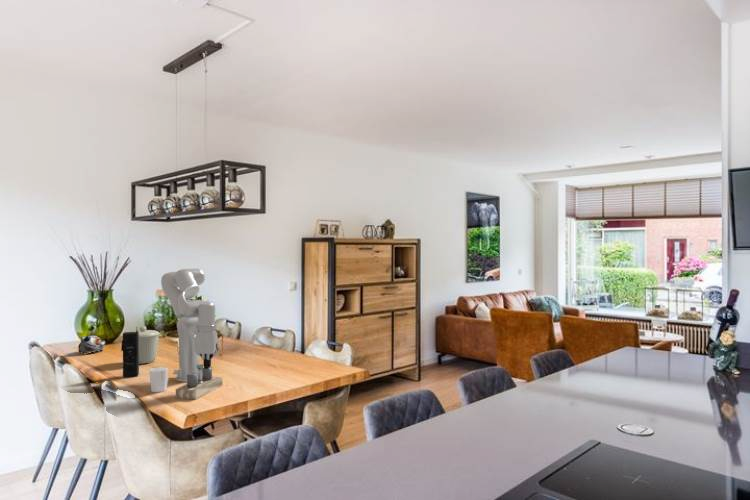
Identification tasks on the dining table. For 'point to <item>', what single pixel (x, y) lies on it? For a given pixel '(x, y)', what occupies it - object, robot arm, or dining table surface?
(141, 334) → the canister
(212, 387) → the mount panel
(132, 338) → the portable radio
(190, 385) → the knob
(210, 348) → the robot arm
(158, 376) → the white cup
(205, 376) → the knob
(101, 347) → the lucky cat figurine
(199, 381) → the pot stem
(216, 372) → the dining table surface
